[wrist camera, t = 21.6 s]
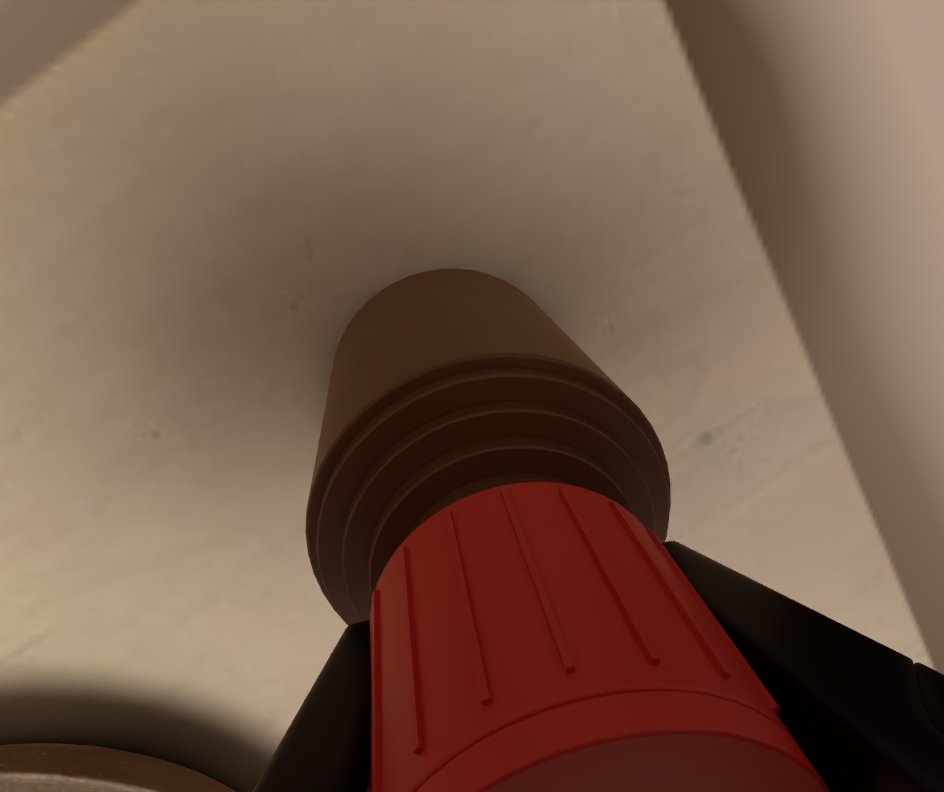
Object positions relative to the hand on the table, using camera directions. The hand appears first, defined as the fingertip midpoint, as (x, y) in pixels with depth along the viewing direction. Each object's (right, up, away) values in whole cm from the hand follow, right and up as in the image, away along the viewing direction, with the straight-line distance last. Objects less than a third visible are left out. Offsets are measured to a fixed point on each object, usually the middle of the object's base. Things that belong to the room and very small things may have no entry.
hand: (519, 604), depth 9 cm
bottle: (-1, +3, +8) cm, 9 cm away
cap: (0, 0, 0) cm, 0 cm away
